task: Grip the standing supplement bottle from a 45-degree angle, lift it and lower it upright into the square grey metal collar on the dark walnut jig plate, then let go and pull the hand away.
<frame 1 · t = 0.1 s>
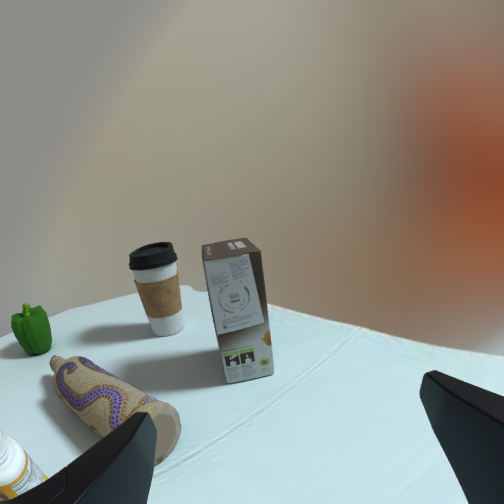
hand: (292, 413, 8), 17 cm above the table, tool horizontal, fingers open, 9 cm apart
coffee cup: (168, 329, 51), on the table
coffee box: (245, 362, 39), on the table
decorative bottle: (108, 411, 29), on the table
bell pepper: (40, 350, 43), on the table
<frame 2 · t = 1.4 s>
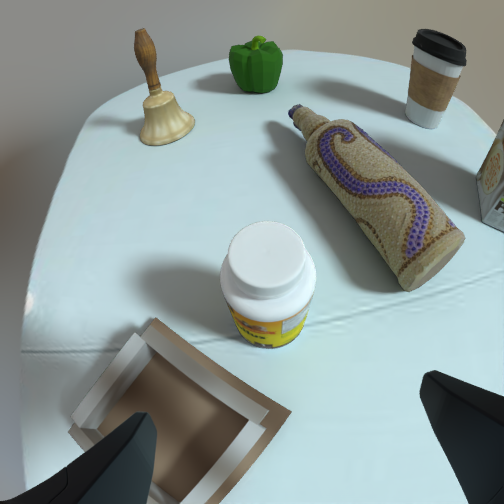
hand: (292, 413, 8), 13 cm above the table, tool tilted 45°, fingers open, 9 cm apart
coffee cup: (421, 119, 38), on the table
coffee box: (495, 205, 28), on the table
supplement bottle: (270, 318, 24), on the table
hand bell: (167, 129, 39), on the table
jig: (171, 428, 19), on the table
decorative bottle: (361, 194, 30), on the table
bell pepper: (257, 88, 44), on the table
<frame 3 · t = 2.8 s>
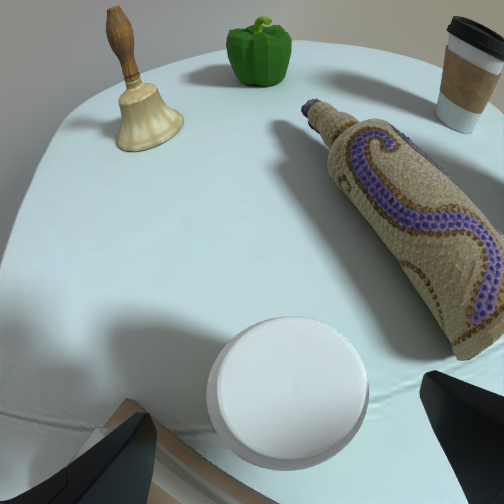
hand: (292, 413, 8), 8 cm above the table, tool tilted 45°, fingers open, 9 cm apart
coffee cup: (453, 121, 30), on the table
supplement bottle: (282, 403, 16), on the table
hand bell: (150, 131, 31), on the table
decorative bottle: (398, 219, 22), on the table
bell pepper: (261, 81, 36), on the table
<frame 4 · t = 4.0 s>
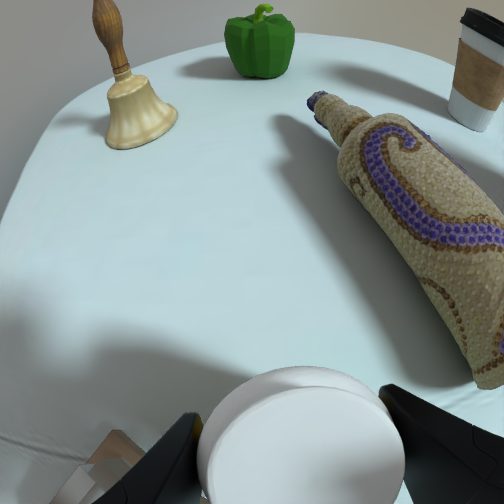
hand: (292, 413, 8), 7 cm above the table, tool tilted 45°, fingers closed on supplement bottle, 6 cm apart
coffee cup: (466, 119, 27), on the table
supplement bottle: (287, 438, 13), on the table, touching gripper
hand bell: (141, 127, 28), on the table
decorative bottle: (415, 227, 19), on the table
bell pepper: (262, 73, 33), on the table
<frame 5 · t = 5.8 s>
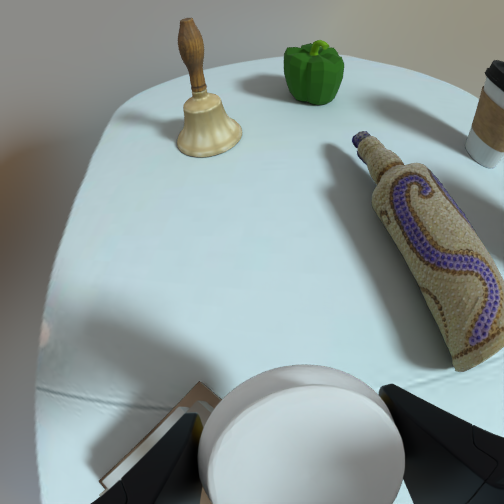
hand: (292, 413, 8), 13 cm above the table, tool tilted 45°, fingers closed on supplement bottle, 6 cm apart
coffee cup: (480, 155, 32), on the table
supplement bottle: (288, 437, 13), point 6 cm above the table, touching gripper
hand bell: (209, 137, 35), on the table
jig: (211, 493, 16), on the table
decorative bottle: (423, 249, 25), on the table
bell pepper: (311, 98, 39), on the table
when the fingers open (9 cm above the table, at t = 7.8 s): supplement bottle drops 1 cm, resting on jig.
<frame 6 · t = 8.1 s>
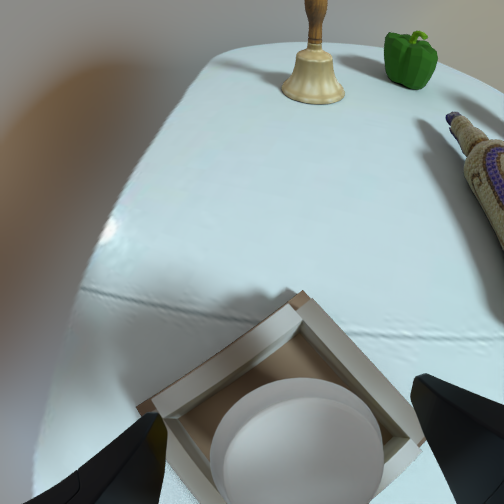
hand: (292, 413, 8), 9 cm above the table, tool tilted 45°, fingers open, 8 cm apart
supplement bottle: (287, 439, 14), point 1 cm above the table, touching jig
hand bell: (313, 91, 34), on the table
jig: (286, 435, 15), on the table
decorative bottle: (502, 222, 22), on the table
bell pepper: (404, 83, 36), on the table
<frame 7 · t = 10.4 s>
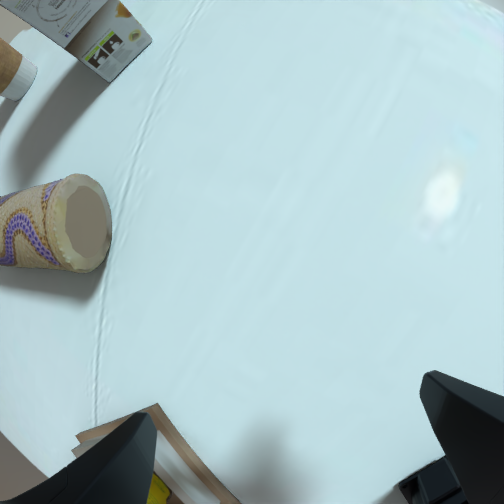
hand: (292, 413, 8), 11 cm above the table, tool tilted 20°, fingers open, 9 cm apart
coffee cup: (25, 83, 27), on the table
coffee box: (115, 48, 23), on the table
supplement bottle: (150, 477, 20), point 1 cm above the table, touching jig
jig: (152, 472, 21), on the table
decorative bottle: (36, 224, 25), on the table
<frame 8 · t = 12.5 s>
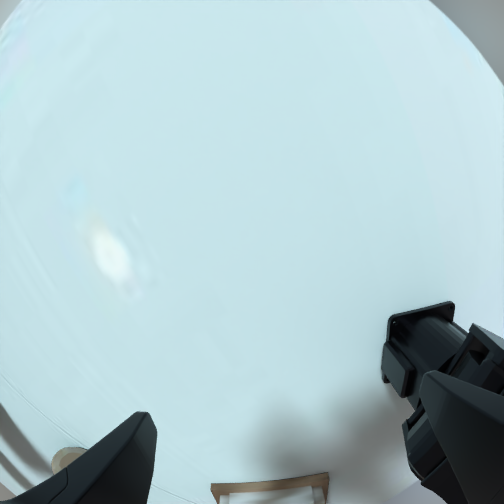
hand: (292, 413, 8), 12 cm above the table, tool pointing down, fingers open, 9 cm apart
jig: (273, 503, 27), on the table
decorative bottle: (80, 479, 27), on the table
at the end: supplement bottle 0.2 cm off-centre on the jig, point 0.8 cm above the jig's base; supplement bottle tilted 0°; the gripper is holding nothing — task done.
